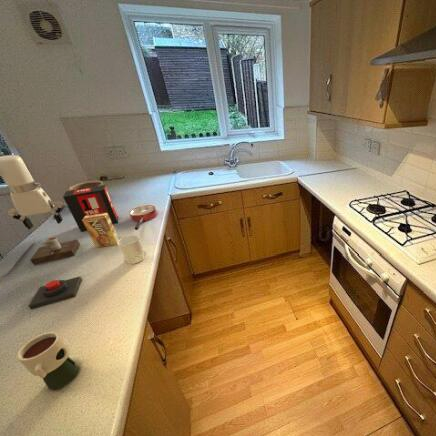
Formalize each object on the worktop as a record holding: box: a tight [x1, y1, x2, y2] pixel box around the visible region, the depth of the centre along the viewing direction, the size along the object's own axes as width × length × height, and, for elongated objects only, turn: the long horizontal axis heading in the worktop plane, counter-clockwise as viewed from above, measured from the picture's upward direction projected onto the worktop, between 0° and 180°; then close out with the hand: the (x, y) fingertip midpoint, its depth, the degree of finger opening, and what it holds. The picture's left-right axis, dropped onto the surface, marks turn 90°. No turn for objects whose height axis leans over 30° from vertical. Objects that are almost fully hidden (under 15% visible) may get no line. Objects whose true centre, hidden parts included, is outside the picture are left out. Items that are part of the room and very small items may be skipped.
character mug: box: [16, 331, 80, 390], centre depth 58 cm, size 11×7×13 cm, turn 33°
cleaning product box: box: [62, 184, 119, 233], centre depth 128 cm, size 16×9×20 cm, turn 123°
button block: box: [28, 276, 83, 310], centre depth 86 cm, size 12×10×4 cm
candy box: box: [82, 213, 120, 249], centre depth 111 cm, size 9×4×15 cm, turn 110°
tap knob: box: [42, 236, 61, 252], centre depth 105 cm, size 4×4×5 cm
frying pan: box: [129, 204, 158, 231], centre depth 130 cm, size 32×13×6 cm, turn 29°
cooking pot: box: [68, 180, 109, 193], centre depth 156 cm, size 25×19×12 cm
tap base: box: [29, 239, 81, 266], centre depth 107 cm, size 14×10×3 cm
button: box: [44, 279, 61, 291], centre depth 85 cm, size 4×4×2 cm
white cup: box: [116, 234, 145, 265], centre depth 101 cm, size 8×8×10 cm
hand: (45, 224), depth 103 cm, fingers open, 9 cm apart
